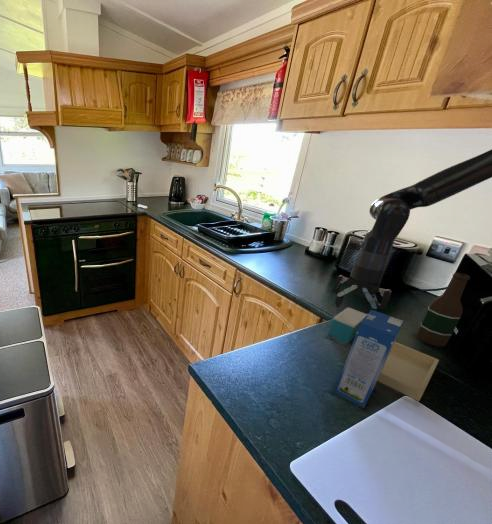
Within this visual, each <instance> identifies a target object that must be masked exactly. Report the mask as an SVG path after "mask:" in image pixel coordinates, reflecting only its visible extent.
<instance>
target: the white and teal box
mask: <svg viewBox="0 0 492 524" xmlns="http://www.w3.org/2000/svg"><path fill="white" fill-rule="evenodd" d="M367 314H368V313H365V312H362V311H360V310H357V309H354V308H352V307H349V306H348V307H346V308H344V309H343V310H342V311H340V312H339V313H337V314H336V315H334V316H333V320H332V323H331V325H330V329H329V331H328V336H329V337H332V338H334V339H335V340H338V341H341V342H342V343H344V344H347V345H348V344H349V343H350V342H351V341H353V340H354V339H355V336H356V334H357V331H358V329H359V326H360V323H361V322H362V321H363V319H364V318H365V317H366V316H367Z"/></svg>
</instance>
